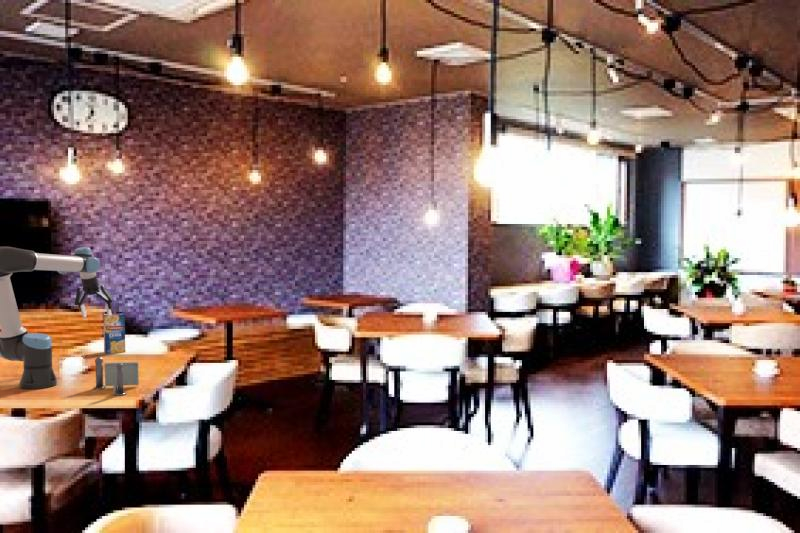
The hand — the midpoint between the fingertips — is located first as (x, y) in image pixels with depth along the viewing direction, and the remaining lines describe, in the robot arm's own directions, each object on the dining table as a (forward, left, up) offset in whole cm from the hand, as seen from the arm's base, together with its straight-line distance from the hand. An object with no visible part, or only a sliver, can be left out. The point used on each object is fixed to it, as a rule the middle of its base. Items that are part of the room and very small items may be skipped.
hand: (97, 316), depth 368 cm
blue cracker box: (+21, +36, -26) cm, 50 cm away
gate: (-10, -60, -25) cm, 65 cm away
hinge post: (-18, -55, -26) cm, 63 cm away
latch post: (-15, -73, -26) cm, 79 cm away
